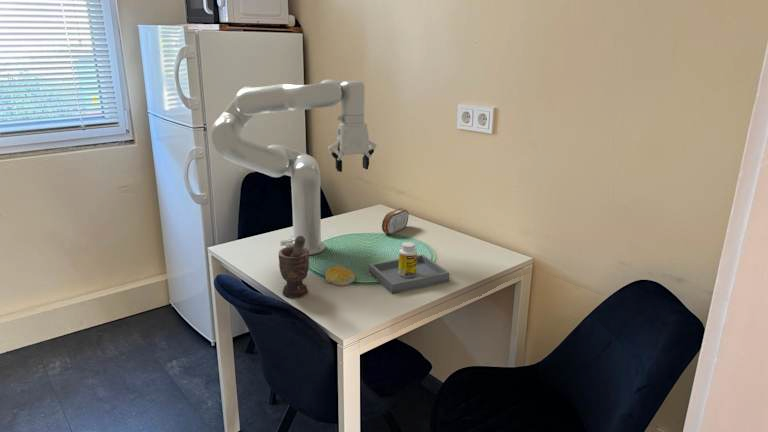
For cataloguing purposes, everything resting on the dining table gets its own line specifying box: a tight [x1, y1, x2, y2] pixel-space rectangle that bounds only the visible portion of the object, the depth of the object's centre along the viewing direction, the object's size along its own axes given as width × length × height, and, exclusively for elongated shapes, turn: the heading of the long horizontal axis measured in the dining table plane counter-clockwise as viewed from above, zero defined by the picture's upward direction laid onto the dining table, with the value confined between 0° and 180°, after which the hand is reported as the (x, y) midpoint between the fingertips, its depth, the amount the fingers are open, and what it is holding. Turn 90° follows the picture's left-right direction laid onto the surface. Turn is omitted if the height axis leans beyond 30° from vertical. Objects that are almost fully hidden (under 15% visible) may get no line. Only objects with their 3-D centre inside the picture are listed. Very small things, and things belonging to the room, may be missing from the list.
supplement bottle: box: [398, 241, 418, 277], centre depth 165 cm, size 6×6×10 cm
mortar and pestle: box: [278, 236, 310, 298], centre depth 151 cm, size 12×9×20 cm
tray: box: [368, 254, 450, 295], centre depth 166 cm, size 20×16×3 cm
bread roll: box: [325, 265, 356, 287], centre depth 163 cm, size 8×9×4 cm
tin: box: [381, 207, 410, 235], centre depth 204 cm, size 15×3×8 cm, turn 144°
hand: (352, 169), depth 180 cm, fingers open, 9 cm apart
